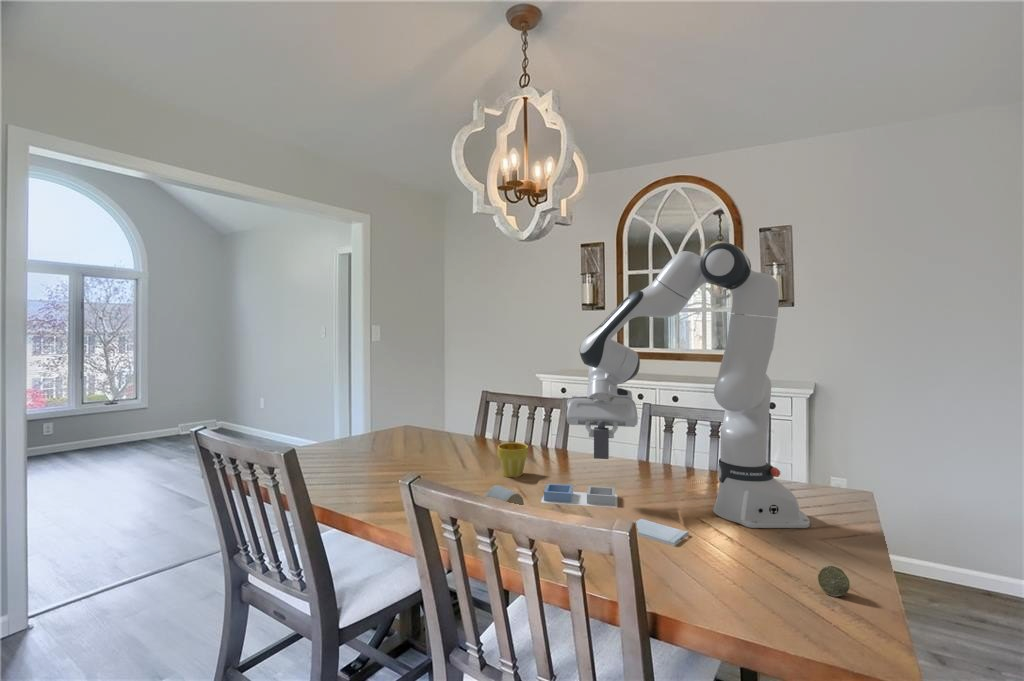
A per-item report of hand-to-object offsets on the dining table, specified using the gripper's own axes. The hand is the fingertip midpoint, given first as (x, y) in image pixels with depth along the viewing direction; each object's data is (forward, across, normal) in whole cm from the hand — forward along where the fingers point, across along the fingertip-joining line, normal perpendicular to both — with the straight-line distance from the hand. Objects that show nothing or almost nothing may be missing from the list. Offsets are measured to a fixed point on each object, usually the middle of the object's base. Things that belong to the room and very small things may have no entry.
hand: (601, 436), depth 142 cm
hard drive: (+27, +14, +2) cm, 30 cm away
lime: (+42, +44, -14) cm, 62 cm away
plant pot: (-3, -30, +30) cm, 43 cm away
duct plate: (+13, -6, +14) cm, 20 cm away
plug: (+4, 0, +5) cm, 6 cm away
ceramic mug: (+23, -24, +4) cm, 34 cm away
